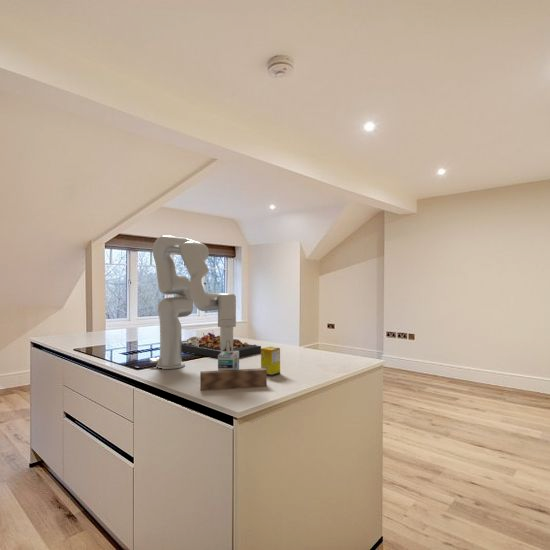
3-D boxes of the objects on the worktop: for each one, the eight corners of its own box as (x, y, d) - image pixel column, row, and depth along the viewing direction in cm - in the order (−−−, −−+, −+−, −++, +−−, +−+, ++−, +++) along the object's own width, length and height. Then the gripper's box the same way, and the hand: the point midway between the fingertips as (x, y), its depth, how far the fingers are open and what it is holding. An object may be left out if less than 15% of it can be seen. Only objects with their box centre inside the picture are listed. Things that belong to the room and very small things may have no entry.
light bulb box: (234, 384, 139) (234, 355, 139) (217, 383, 139) (217, 355, 139) (239, 376, 149) (239, 350, 150) (223, 376, 150) (223, 350, 150)
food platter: (173, 351, 210) (173, 333, 210) (207, 345, 229) (207, 328, 229) (228, 361, 182) (228, 340, 182) (261, 354, 201) (261, 335, 201)
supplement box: (269, 371, 158) (269, 346, 158) (280, 373, 154) (280, 347, 154) (260, 374, 153) (260, 348, 154) (271, 376, 150) (271, 349, 150)
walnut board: (200, 390, 131) (200, 373, 131) (200, 388, 134) (200, 371, 134) (266, 386, 136) (266, 369, 136) (265, 384, 139) (265, 368, 139)
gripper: (216, 321, 160) (216, 363, 160) (219, 325, 145) (219, 371, 145) (233, 321, 162) (234, 362, 161) (238, 324, 147) (238, 370, 147)
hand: (226, 367), depth 153 cm, fingers closed
